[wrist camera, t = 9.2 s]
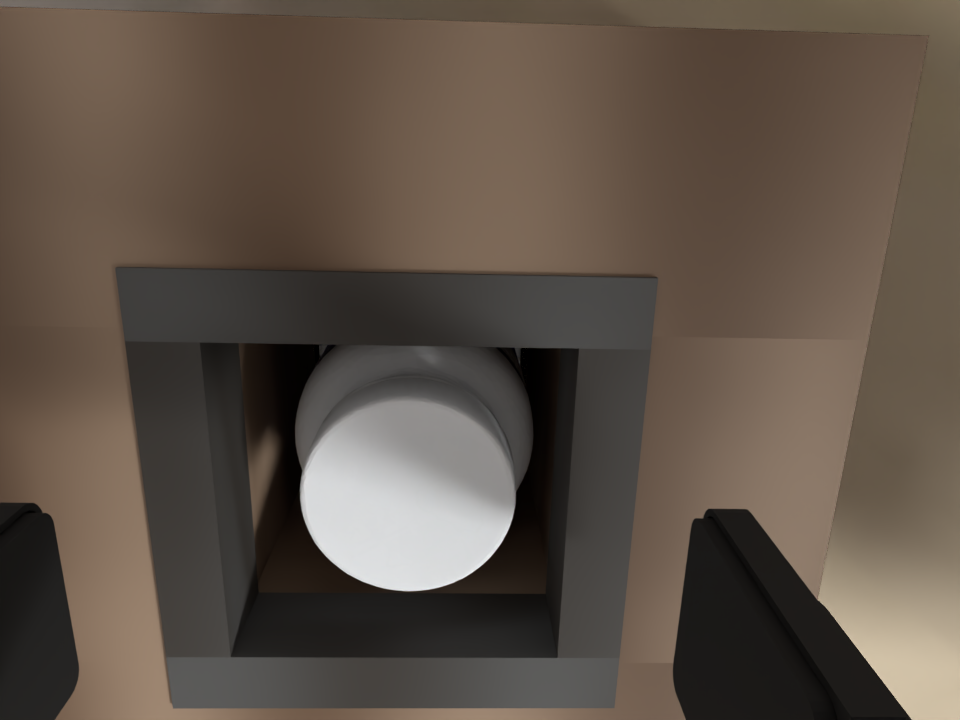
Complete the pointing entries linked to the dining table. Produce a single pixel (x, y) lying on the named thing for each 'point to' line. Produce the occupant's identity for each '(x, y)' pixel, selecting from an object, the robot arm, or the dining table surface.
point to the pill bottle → (412, 459)
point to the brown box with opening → (426, 332)
